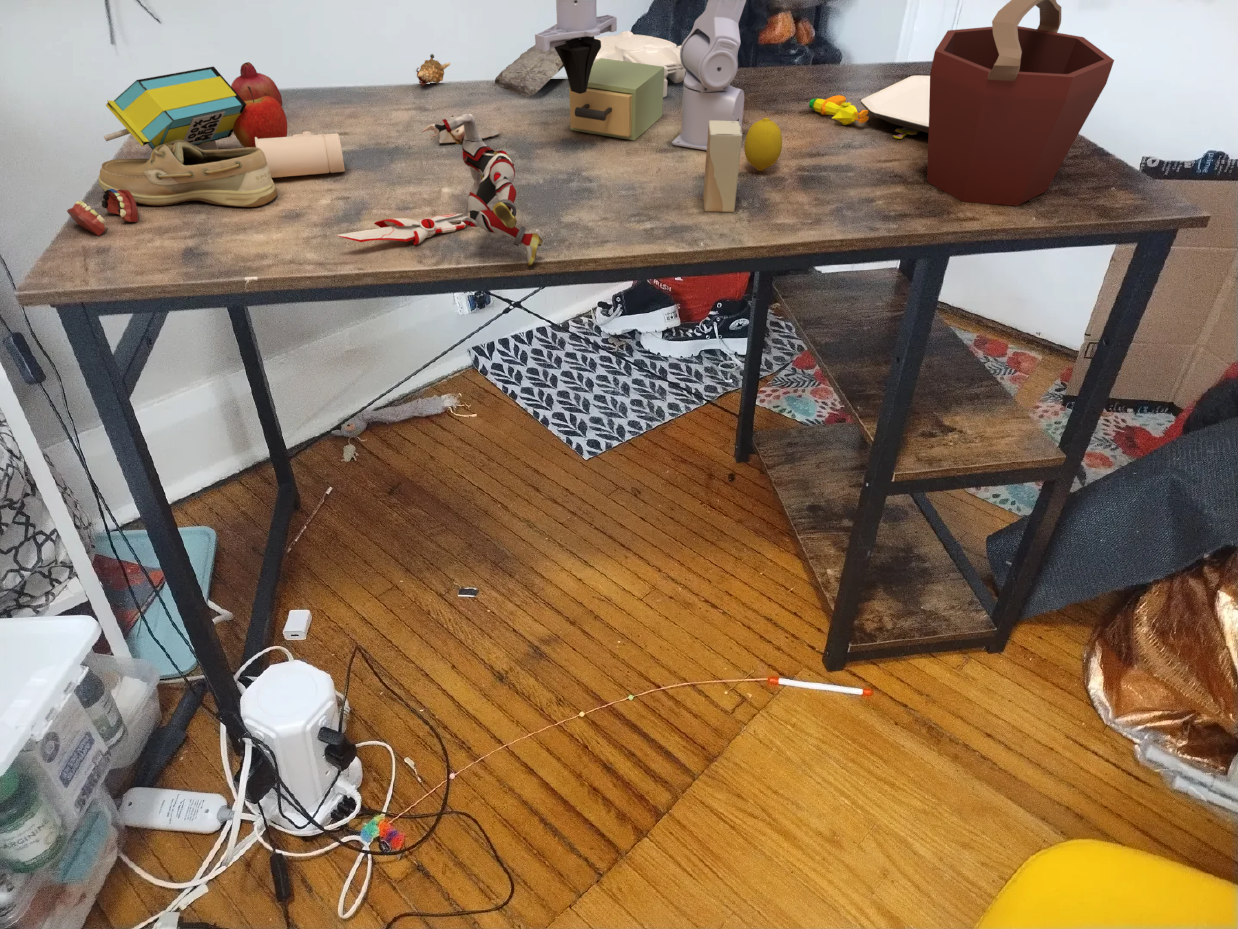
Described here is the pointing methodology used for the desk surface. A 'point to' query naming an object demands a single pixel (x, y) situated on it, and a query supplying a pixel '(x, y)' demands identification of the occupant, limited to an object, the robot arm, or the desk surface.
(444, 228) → the anime character
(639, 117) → the cabinet
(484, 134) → the arrowhead
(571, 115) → the drawer
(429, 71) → the figurine
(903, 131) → the decorative knife
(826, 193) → the desk surface
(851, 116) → the toy figure
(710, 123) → the box
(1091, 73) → the bucket
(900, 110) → the plate
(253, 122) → the apple
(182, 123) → the carton
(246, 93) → the fruit
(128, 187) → the boat shoe
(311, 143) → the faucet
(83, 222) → the dental model
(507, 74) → the stone
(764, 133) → the lemon
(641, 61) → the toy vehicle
